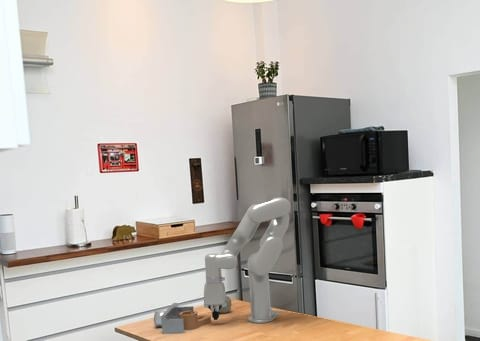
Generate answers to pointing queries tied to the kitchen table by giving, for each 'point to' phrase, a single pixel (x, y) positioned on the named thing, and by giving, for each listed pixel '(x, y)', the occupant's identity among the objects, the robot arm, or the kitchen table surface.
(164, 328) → the steel u-channel
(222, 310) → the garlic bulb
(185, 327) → the bracket
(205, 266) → the robot arm
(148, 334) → the kitchen table surface
